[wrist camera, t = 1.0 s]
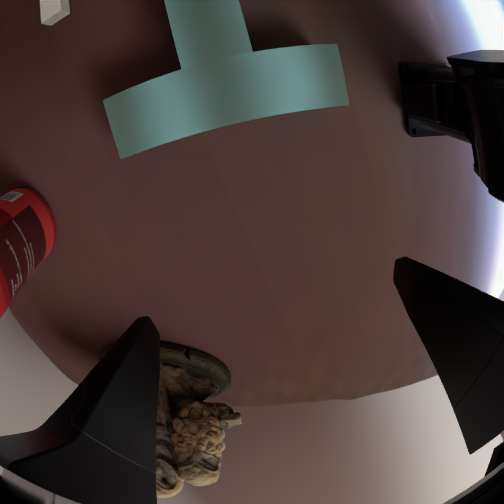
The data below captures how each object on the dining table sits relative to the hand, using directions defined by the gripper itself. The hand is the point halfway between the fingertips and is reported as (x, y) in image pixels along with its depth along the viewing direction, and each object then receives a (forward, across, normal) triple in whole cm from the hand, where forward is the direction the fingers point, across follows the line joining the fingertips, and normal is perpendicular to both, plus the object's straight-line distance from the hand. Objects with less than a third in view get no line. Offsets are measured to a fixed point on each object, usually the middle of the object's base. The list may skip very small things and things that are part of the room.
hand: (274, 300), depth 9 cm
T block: (+13, 0, -11) cm, 17 cm away
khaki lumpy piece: (+13, +15, +20) cm, 28 cm away
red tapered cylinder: (+13, +21, -3) cm, 25 cm away
